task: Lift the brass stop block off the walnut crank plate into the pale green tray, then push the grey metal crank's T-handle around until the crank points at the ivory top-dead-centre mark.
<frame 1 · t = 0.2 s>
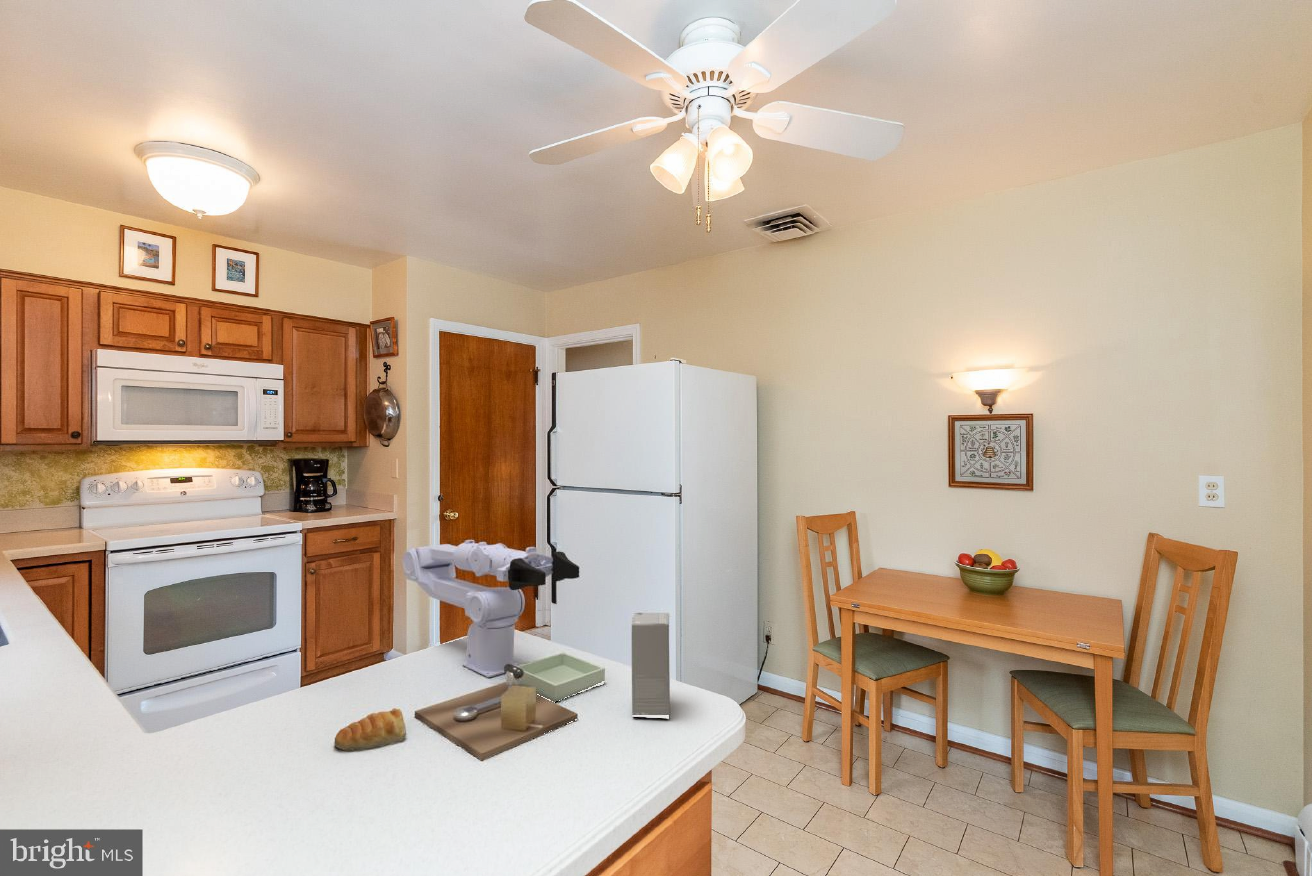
hand: (561, 575, 107), 22 cm above the countertop, tool horizontal, fingers open, 7 cm apart
stop block: (518, 723, 93), point 1 cm above the countertop, touching crank plate
skincare box: (649, 710, 103), on the countertop
crank plate: (496, 718, 97), on the countertop
crank: (488, 690, 98), point 4 cm above the countertop, hinge at 60.0°
tray: (559, 683, 112), on the countertop
pastry: (375, 742, 89), on the countertop
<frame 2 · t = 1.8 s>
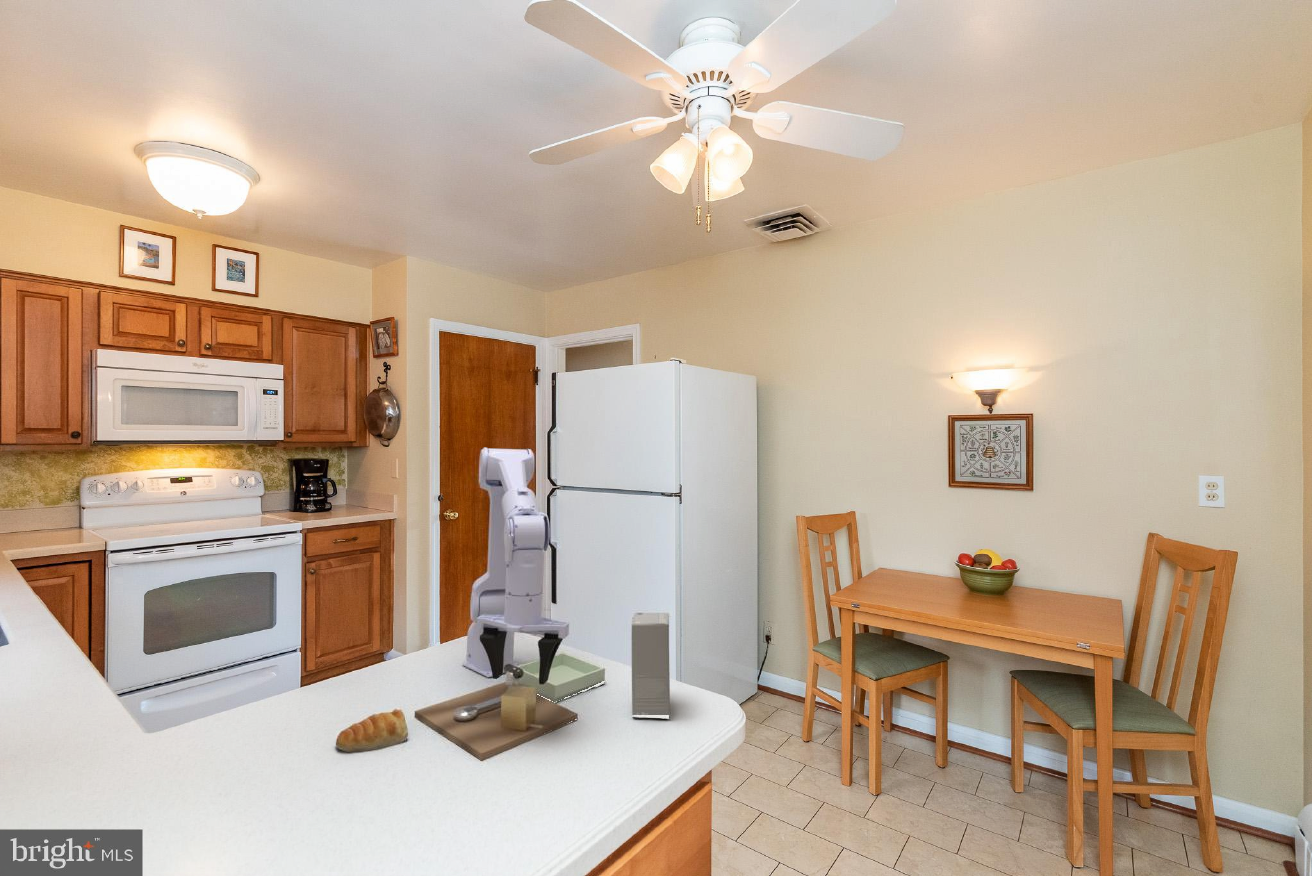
hand: (520, 679, 94), 8 cm above the countertop, tool pointing down, fingers open, 7 cm apart
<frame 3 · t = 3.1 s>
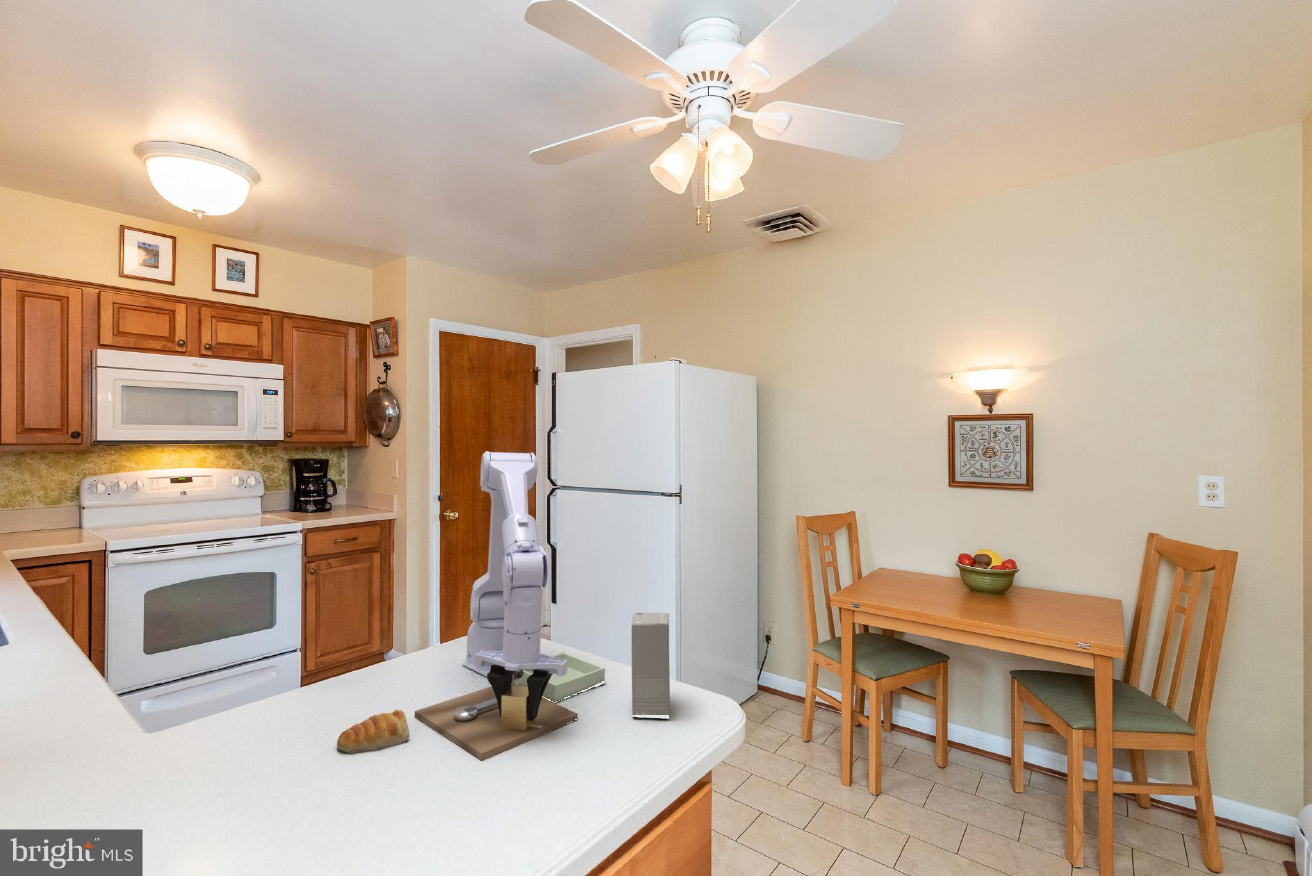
hand: (518, 716, 93), 2 cm above the countertop, tool pointing down, fingers closed on stop block, 4 cm apart
stop block: (518, 723, 93), point 1 cm above the countertop, touching crank plate, gripper
everything else where it was.
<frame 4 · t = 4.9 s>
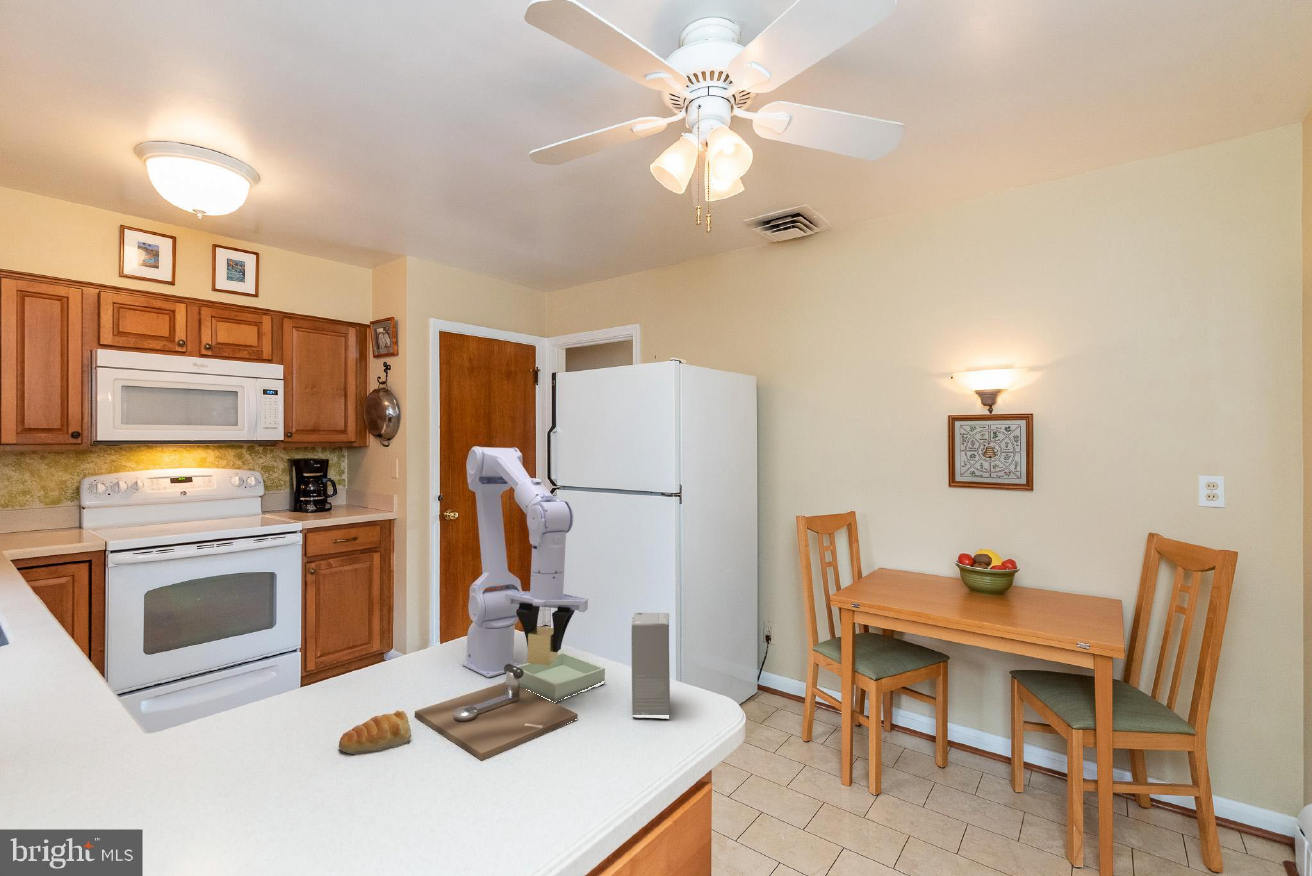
hand: (544, 648, 104), 9 cm above the countertop, tool pointing down, fingers closed on stop block, 4 cm apart
stop block: (542, 660, 104), point 8 cm above the countertop, touching gripper
when the fingers open (4 cm above the countertop, at t = 7.0 s): stop block stays where it is, resting on tray.
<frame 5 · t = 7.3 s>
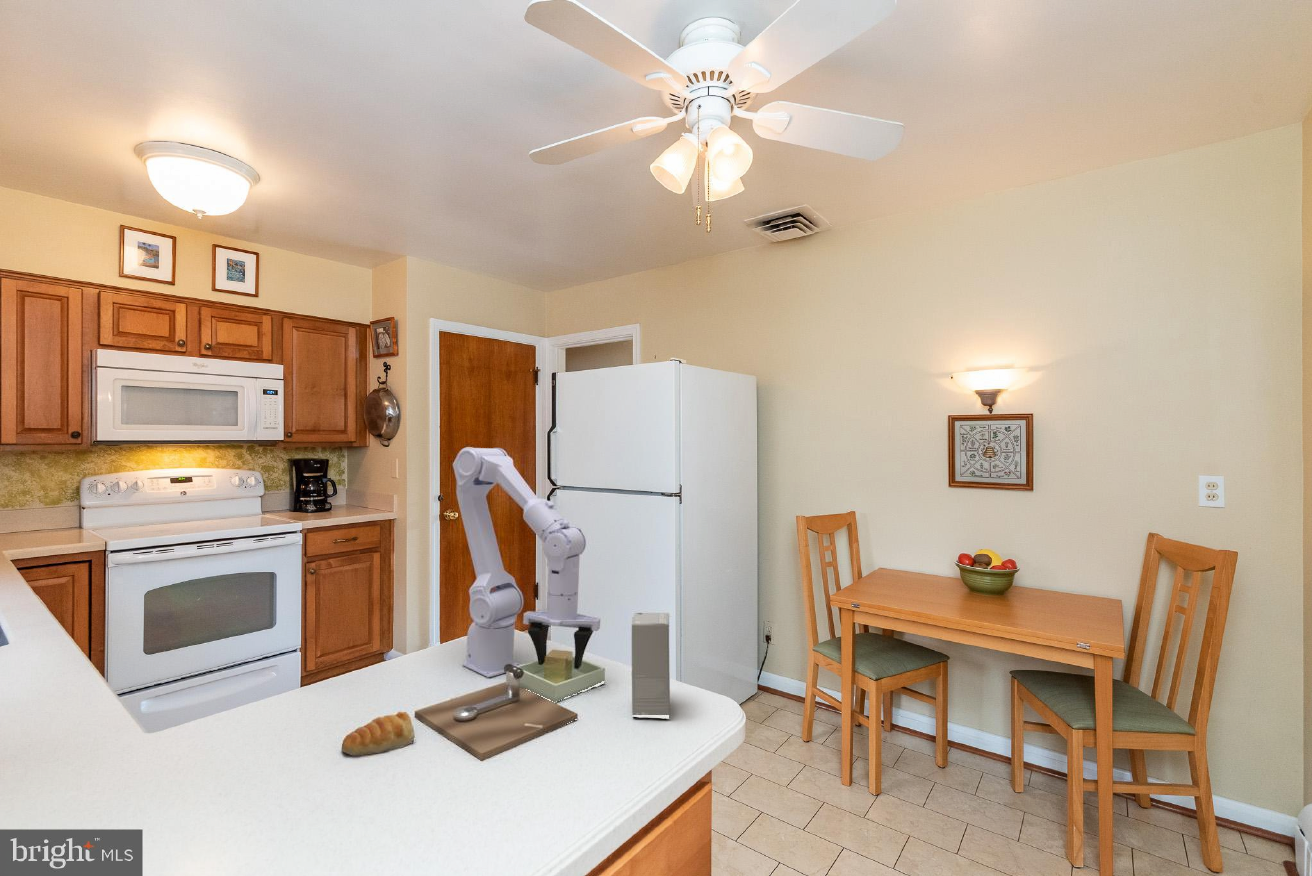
hand: (559, 665, 112), 4 cm above the countertop, tool pointing down, fingers open, 6 cm apart
stop block: (557, 681, 112), point 1 cm above the countertop, touching tray
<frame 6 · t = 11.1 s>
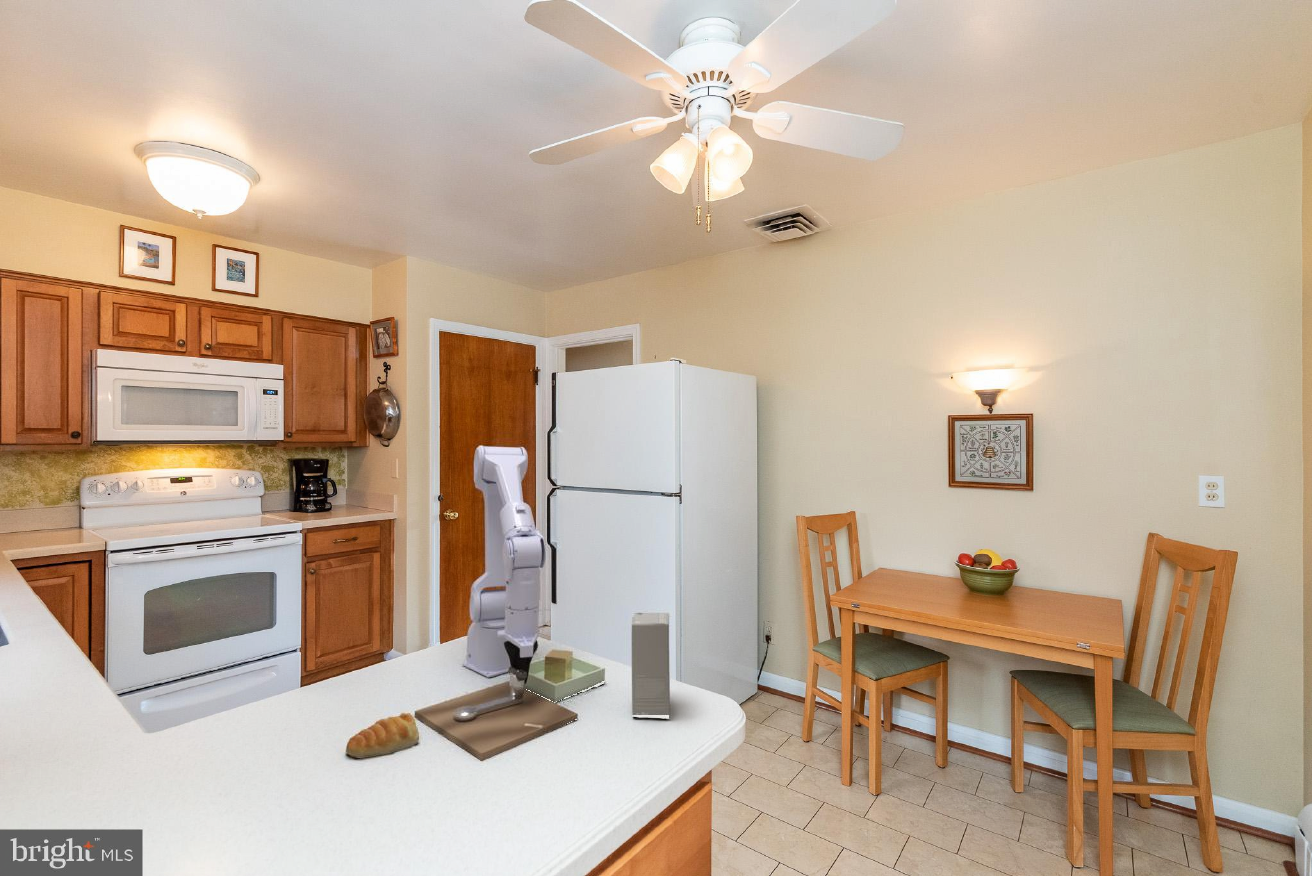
hand: (519, 683, 104), 3 cm above the countertop, tool pointing down, fingers closed, pressing on crank
crank: (490, 691, 98), point 4 cm above the countertop, hinge at 52.7°, touching gripper
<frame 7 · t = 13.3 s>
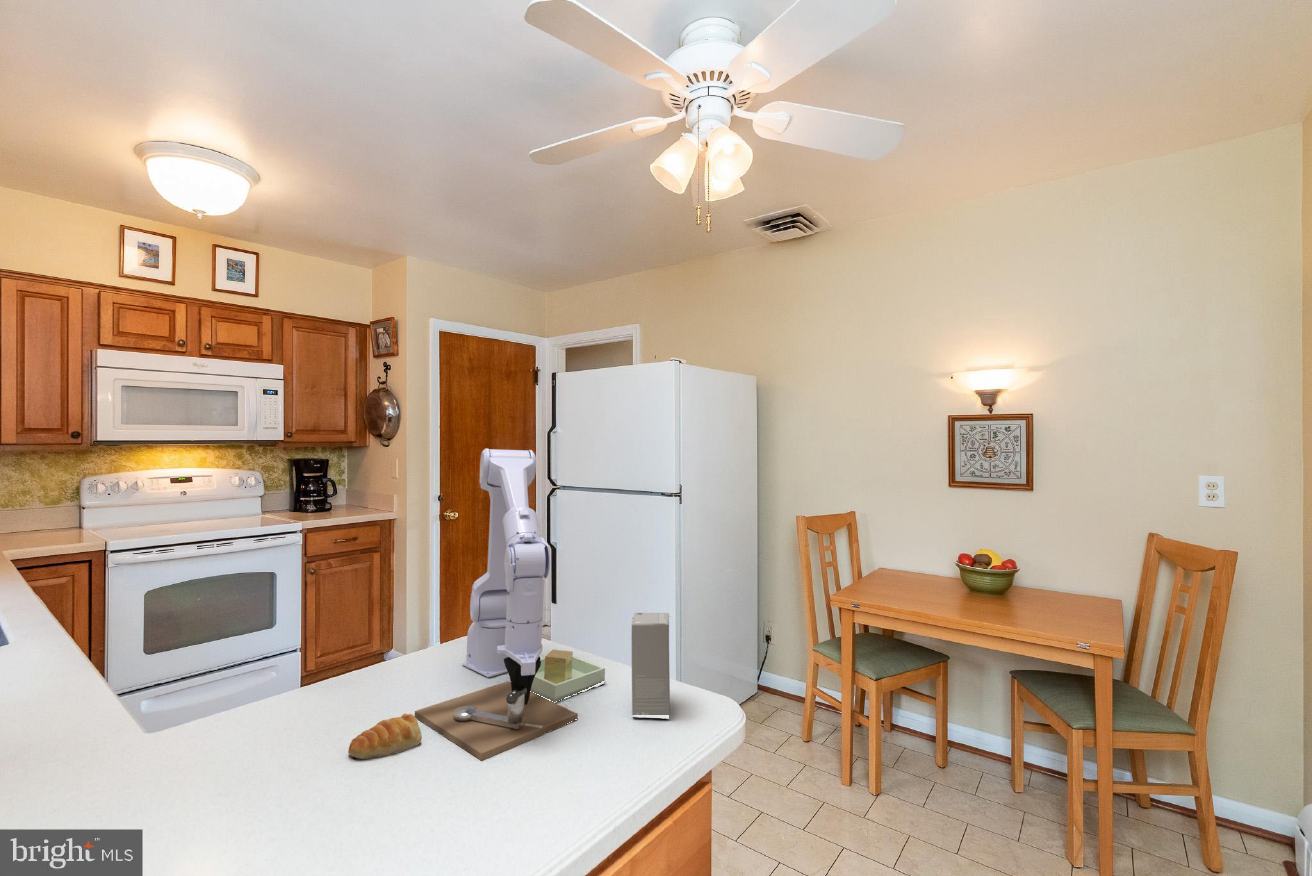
hand: (520, 703, 96), 3 cm above the countertop, tool pointing down, fingers closed
crank: (489, 702, 94), point 4 cm above the countertop, hinge at -7.0°, touching gripper
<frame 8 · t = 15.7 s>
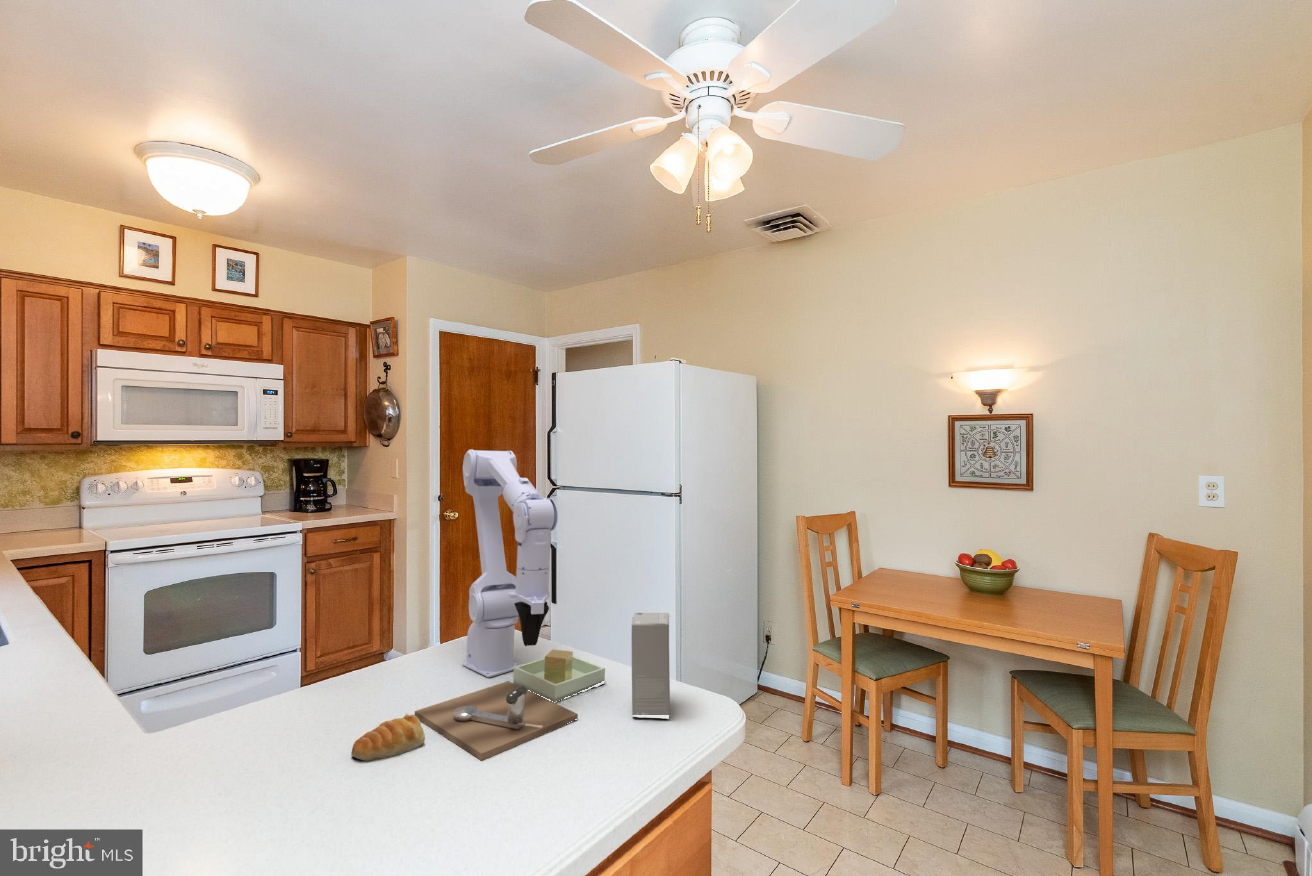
hand: (529, 644, 106), 9 cm above the countertop, tool pointing down, fingers closed
crank: (489, 702, 94), point 4 cm above the countertop, hinge at -7.0°
at the end: crank at -7° (first picture: +60°); stop block inside the target area on the tray (0.7 cm from its centre), point 0.8 cm above the tray's base; stop block tilted 0° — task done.
